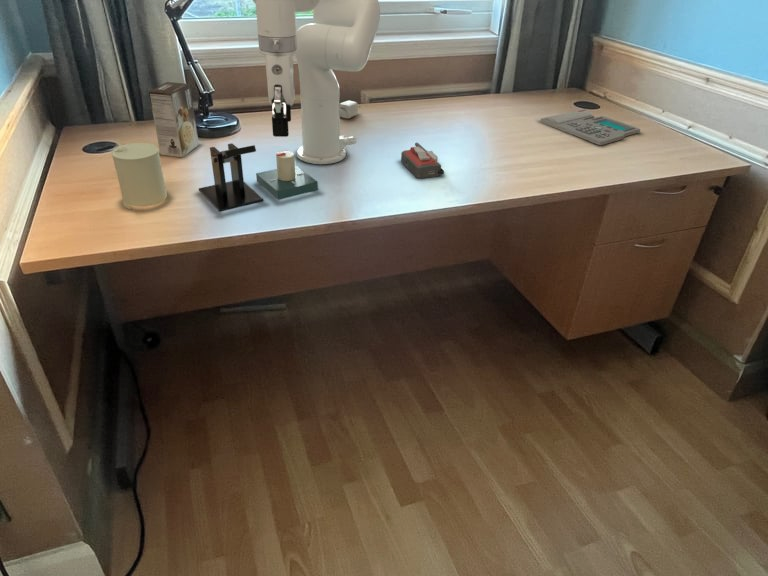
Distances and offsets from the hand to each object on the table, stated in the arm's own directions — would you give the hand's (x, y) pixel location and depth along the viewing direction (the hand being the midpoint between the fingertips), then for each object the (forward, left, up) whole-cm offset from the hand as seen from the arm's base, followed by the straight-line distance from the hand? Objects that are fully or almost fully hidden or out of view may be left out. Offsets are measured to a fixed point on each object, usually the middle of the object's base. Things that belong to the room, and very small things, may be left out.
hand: (282, 128), depth 126 cm
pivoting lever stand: (+13, -2, -15) cm, 19 cm away
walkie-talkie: (-36, +3, -15) cm, 39 cm away
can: (+29, -10, -15) cm, 34 cm away
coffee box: (+13, -35, -15) cm, 40 cm away
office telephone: (-99, +7, -15) cm, 101 cm away
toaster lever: (+13, +3, -4) cm, 14 cm away
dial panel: (0, 0, -15) cm, 15 cm away
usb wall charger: (-41, -38, -15) cm, 58 cm away
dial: (0, 0, -11) cm, 11 cm away
